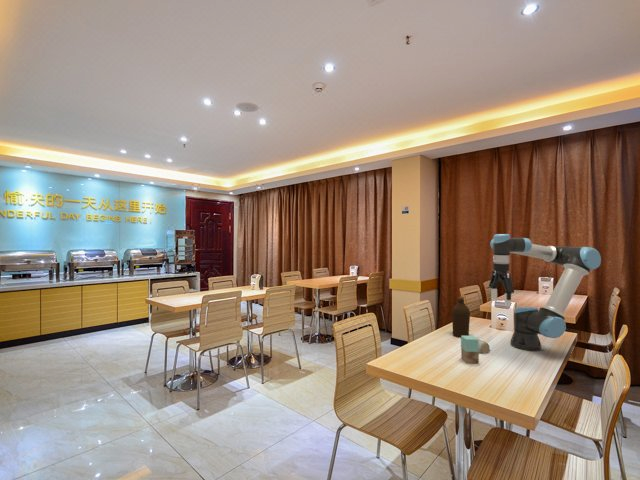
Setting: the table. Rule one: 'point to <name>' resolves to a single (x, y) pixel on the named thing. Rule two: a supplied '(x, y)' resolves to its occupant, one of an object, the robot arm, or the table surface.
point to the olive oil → (460, 319)
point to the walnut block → (470, 357)
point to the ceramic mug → (483, 347)
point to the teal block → (469, 343)
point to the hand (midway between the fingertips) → (500, 303)
